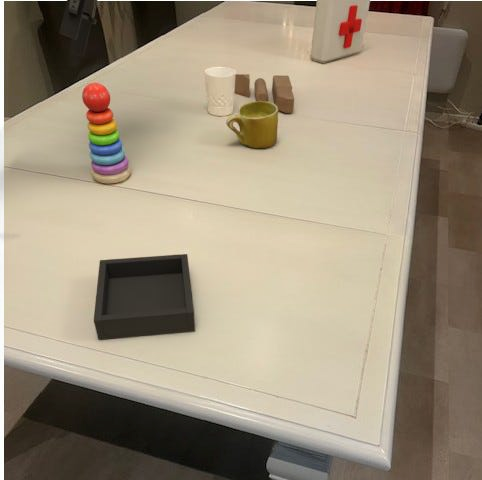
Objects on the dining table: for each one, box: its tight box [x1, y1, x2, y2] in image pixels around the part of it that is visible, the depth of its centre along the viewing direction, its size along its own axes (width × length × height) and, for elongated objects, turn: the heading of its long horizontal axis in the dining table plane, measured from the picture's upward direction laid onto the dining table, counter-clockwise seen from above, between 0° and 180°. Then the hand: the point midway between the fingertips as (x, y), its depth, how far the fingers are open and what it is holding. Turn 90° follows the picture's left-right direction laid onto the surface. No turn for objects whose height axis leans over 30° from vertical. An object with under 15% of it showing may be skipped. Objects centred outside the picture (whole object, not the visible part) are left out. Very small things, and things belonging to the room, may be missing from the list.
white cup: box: [204, 66, 237, 117], centre depth 125 cm, size 8×8×10 cm
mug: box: [225, 100, 279, 149], centre depth 113 cm, size 12×10×10 cm
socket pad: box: [93, 253, 196, 341], centre depth 72 cm, size 14×14×4 cm
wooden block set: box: [235, 73, 295, 114], centre depth 133 cm, size 17×6×18 cm
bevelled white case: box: [310, 0, 371, 64], centre depth 160 cm, size 21×8×20 cm, turn 132°
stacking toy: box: [81, 82, 131, 184], centre depth 95 cm, size 8×8×19 cm
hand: (72, 45), depth 87 cm, fingers open, 13 cm apart
